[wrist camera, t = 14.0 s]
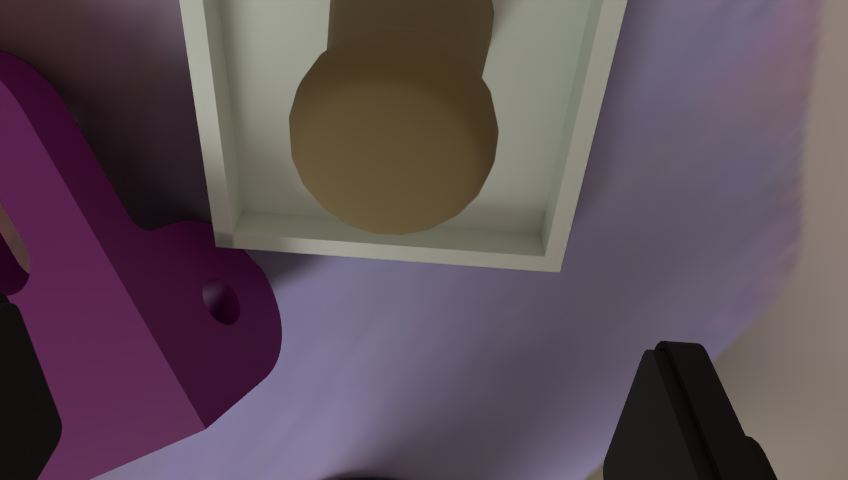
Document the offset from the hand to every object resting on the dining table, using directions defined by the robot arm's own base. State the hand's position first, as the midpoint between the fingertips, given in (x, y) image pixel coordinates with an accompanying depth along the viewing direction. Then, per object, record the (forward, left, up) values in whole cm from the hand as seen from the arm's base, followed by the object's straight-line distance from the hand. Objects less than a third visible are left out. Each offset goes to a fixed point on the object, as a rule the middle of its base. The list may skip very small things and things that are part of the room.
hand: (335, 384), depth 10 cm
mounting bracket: (-10, +14, -19) cm, 25 cm away
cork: (0, 0, -17) cm, 17 cm away
